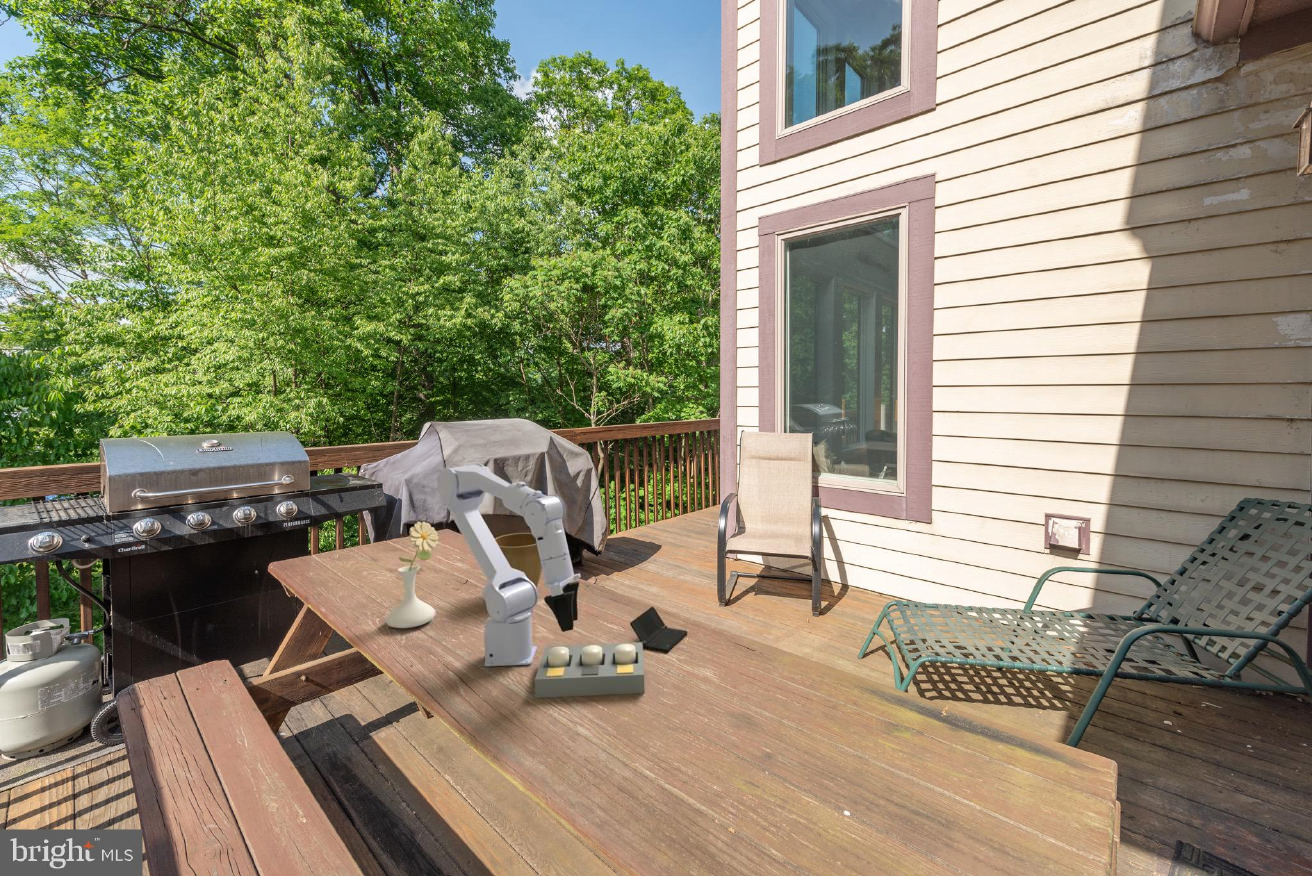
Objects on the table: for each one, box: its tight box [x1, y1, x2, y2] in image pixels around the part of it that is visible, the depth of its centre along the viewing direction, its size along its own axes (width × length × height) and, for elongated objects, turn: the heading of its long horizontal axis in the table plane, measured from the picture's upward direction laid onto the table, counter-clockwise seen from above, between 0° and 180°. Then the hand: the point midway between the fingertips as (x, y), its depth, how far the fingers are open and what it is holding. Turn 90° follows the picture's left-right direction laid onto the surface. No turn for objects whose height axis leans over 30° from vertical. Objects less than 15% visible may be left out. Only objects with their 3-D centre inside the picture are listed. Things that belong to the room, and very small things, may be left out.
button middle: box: [581, 645, 602, 666], centre depth 111 cm, size 4×4×3 cm
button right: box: [615, 644, 636, 665], centre depth 111 cm, size 4×4×3 cm
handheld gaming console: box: [629, 606, 688, 654], centre depth 128 cm, size 12×7×10 cm
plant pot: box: [494, 532, 543, 589], centre depth 159 cm, size 15×15×16 cm
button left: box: [548, 647, 569, 667], centre depth 111 cm, size 4×4×3 cm
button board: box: [534, 641, 646, 699], centre depth 111 cm, size 20×14×4 cm
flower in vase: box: [385, 521, 439, 629], centre depth 140 cm, size 13×11×25 cm
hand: (570, 625), depth 111 cm, fingers open, 7 cm apart
